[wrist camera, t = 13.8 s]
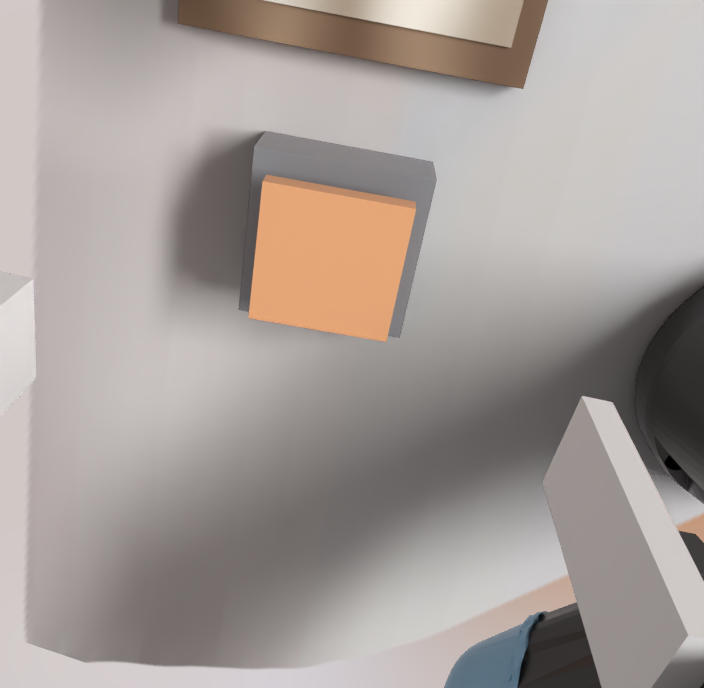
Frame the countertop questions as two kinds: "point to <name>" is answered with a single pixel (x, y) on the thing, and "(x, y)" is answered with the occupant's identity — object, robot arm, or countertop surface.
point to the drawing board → (392, 31)
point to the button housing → (348, 173)
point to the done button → (329, 257)
